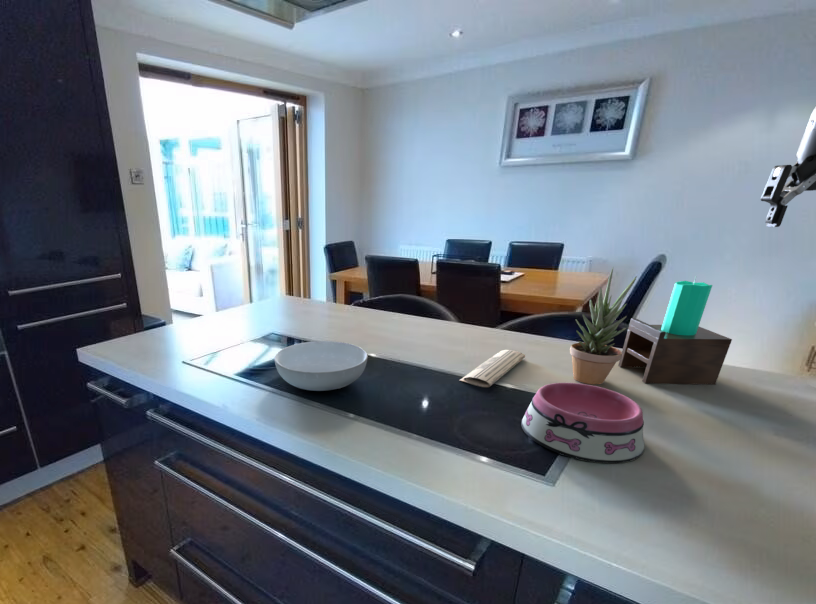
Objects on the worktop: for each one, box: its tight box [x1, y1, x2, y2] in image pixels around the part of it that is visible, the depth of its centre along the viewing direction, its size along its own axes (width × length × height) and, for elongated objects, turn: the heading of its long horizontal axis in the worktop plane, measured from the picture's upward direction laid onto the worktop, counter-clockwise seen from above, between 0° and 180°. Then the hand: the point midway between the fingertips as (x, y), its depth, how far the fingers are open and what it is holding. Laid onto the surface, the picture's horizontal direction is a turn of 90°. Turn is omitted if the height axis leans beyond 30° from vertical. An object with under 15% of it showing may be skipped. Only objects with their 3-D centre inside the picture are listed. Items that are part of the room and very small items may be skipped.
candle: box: [661, 275, 713, 335], centre depth 94 cm, size 6×6×12 cm
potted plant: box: [569, 267, 638, 385], centre depth 94 cm, size 10×10×25 cm
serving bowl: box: [274, 340, 368, 392], centre depth 100 cm, size 21×21×7 cm
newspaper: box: [458, 349, 526, 388], centre depth 106 cm, size 24×7×2 cm, turn 138°
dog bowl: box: [520, 382, 645, 464], centre depth 76 cm, size 18×19×7 cm
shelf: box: [618, 317, 733, 386], centre depth 98 cm, size 14×11×12 cm
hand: (798, 226), depth 81 cm, fingers open, 8 cm apart
